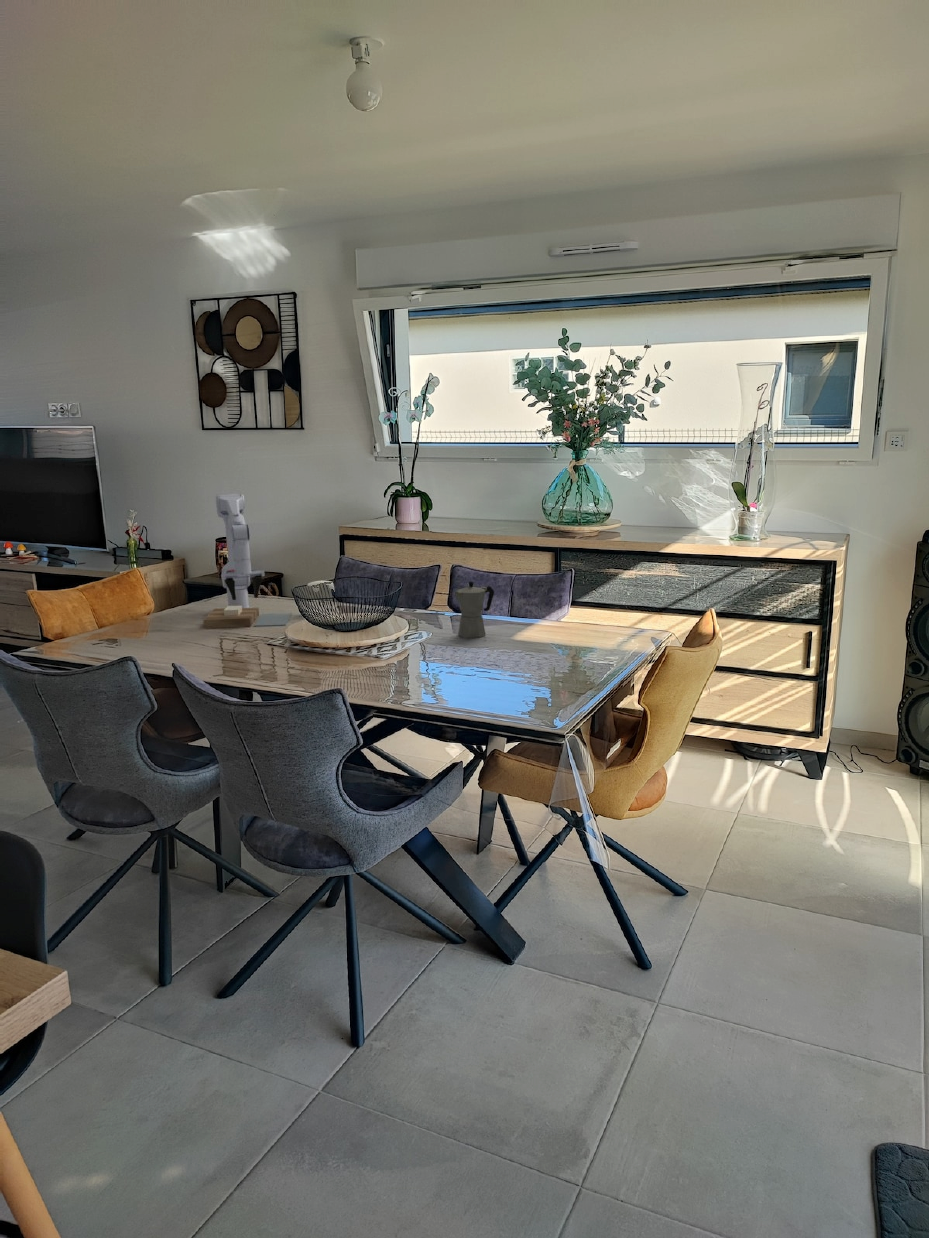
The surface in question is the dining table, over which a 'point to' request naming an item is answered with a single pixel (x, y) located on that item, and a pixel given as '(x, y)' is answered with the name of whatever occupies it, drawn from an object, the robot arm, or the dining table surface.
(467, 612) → the coffeepot
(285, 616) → the mat
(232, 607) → the tile
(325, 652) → the dining table surface
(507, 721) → the dining table surface
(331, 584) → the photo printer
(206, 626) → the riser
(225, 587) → the robot arm
